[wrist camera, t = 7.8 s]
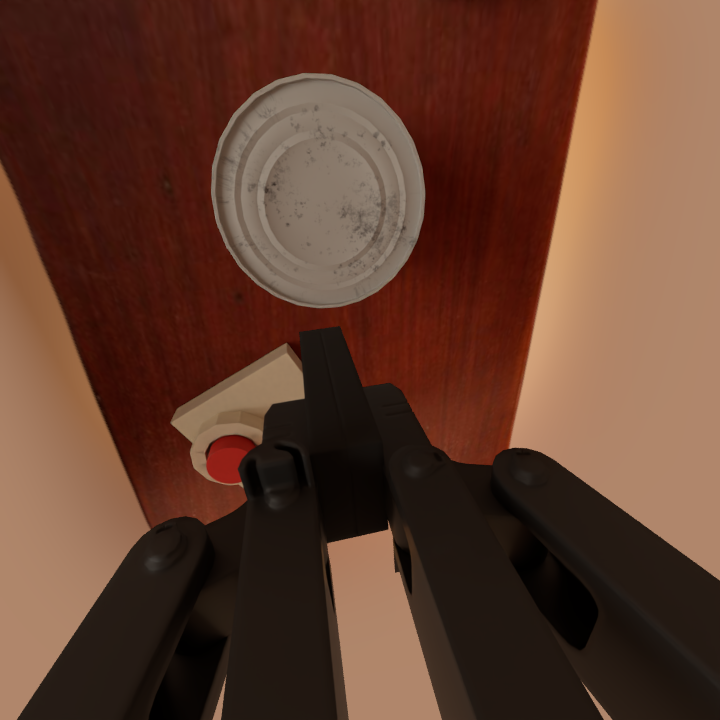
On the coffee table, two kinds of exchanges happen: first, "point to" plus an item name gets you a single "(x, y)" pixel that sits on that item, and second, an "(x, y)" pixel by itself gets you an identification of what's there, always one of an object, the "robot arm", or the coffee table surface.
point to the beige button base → (239, 404)
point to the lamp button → (227, 458)
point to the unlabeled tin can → (318, 190)
